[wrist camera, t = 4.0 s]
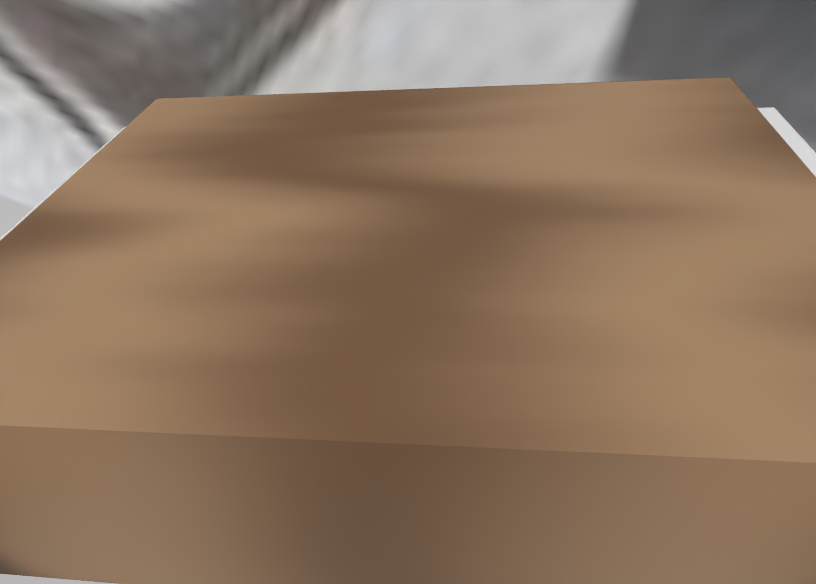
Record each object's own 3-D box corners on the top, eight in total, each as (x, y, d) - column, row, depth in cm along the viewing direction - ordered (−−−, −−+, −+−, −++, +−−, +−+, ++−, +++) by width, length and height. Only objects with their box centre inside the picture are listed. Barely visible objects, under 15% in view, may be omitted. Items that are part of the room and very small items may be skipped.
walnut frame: (210, 244, 14) (2, 578, 8) (157, 98, 12) (-194, 416, 6) (683, 243, 13) (859, 651, 7) (730, 77, 10) (1071, 474, 4)
